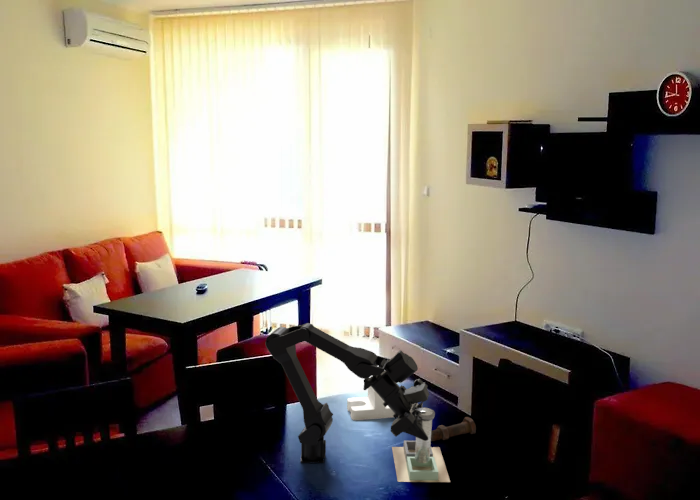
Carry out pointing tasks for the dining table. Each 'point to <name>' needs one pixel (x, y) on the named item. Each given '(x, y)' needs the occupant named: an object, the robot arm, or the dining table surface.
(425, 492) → the dining table surface
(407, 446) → the holder
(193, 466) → the dining table surface
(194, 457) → the dining table surface
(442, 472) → the dock board
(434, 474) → the socket
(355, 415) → the u-slot stand
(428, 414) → the silver tall tapered cylinder
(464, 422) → the bolt
